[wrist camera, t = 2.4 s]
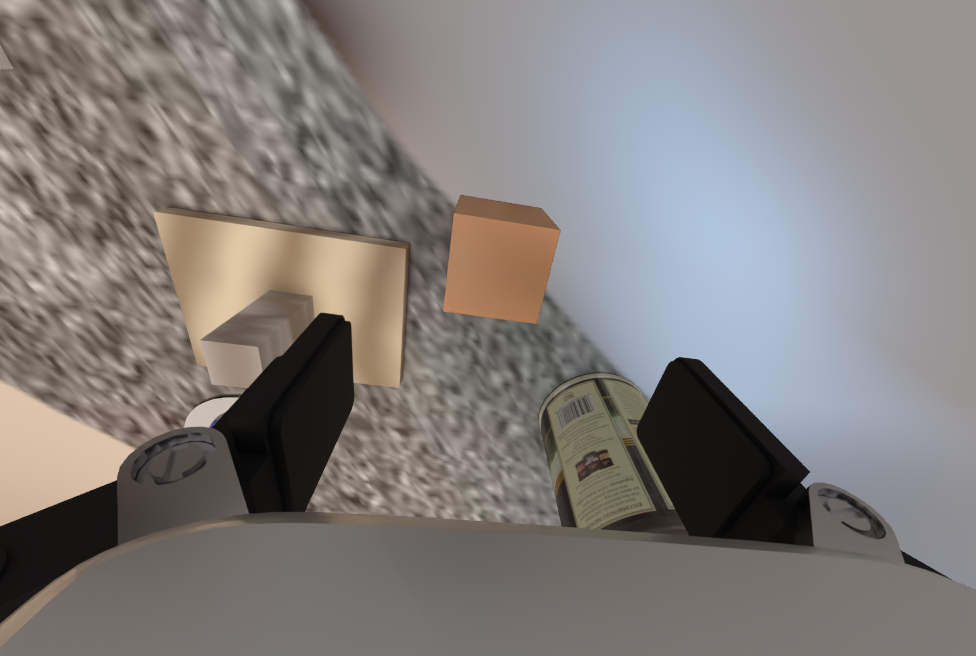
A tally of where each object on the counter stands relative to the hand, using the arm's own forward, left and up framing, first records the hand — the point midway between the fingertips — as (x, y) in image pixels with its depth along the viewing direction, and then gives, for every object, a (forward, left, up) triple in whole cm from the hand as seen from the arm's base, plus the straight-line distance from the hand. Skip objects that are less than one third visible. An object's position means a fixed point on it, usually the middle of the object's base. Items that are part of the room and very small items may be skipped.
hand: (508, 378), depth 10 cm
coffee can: (-12, +15, -17) cm, 26 cm away
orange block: (0, 0, -17) cm, 17 cm away
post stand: (+14, +7, -17) cm, 23 cm away
